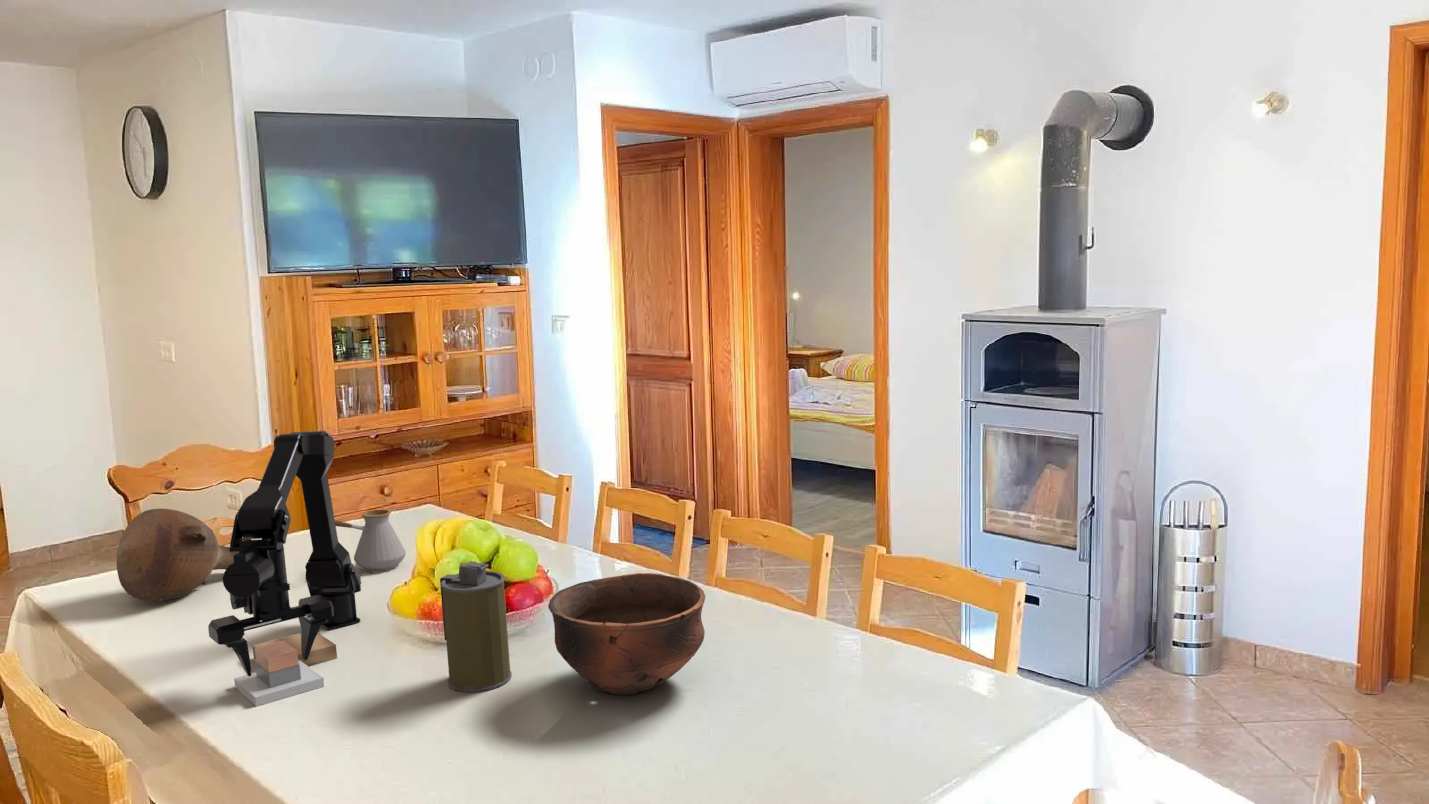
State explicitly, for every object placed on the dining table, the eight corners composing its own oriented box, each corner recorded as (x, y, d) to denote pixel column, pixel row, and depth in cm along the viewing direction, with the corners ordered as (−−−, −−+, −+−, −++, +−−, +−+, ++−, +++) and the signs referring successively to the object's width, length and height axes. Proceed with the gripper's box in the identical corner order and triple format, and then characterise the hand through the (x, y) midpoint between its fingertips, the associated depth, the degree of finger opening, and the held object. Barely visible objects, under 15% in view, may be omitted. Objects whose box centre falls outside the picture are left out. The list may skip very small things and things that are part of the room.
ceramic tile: (300, 668, 188) (299, 660, 188) (324, 686, 180) (323, 677, 179) (235, 686, 181) (234, 678, 181) (256, 706, 173) (255, 697, 172)
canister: (523, 670, 183) (515, 557, 180) (491, 695, 173) (482, 575, 170) (467, 664, 187) (459, 553, 184) (433, 688, 177) (424, 571, 174)
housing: (301, 679, 179) (298, 650, 178) (270, 688, 176) (267, 659, 175) (286, 667, 184) (283, 640, 184) (256, 676, 181) (253, 648, 181)
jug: (132, 620, 217) (265, 601, 242) (148, 528, 215) (281, 518, 240) (83, 585, 228) (216, 571, 253) (98, 497, 226) (230, 491, 251)
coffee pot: (384, 557, 256) (379, 495, 253) (417, 563, 249) (412, 500, 247) (306, 582, 238) (300, 516, 236) (339, 589, 232) (333, 522, 230)
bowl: (587, 731, 159) (581, 633, 157) (534, 675, 181) (529, 588, 179) (734, 693, 170) (731, 601, 168) (668, 645, 192) (664, 563, 190)
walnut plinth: (314, 642, 200) (313, 629, 200) (337, 658, 192) (335, 644, 192) (253, 658, 193) (252, 645, 193) (274, 675, 185) (273, 661, 185)
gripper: (307, 556, 190) (315, 640, 192) (194, 580, 178) (204, 670, 180) (330, 569, 181) (339, 657, 183) (214, 595, 169) (224, 689, 172)
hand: (277, 667), depth 180 cm, fingers open, 9 cm apart
